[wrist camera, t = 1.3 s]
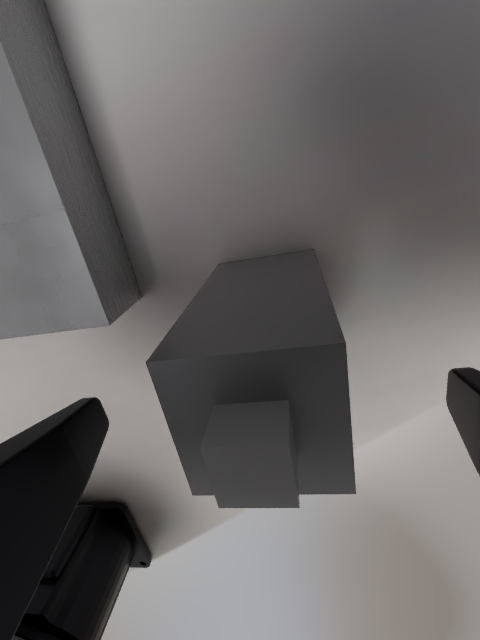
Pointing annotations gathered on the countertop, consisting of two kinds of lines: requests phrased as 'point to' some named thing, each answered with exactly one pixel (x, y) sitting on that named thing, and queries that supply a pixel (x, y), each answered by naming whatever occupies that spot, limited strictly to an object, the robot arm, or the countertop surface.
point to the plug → (259, 385)
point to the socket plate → (51, 193)
